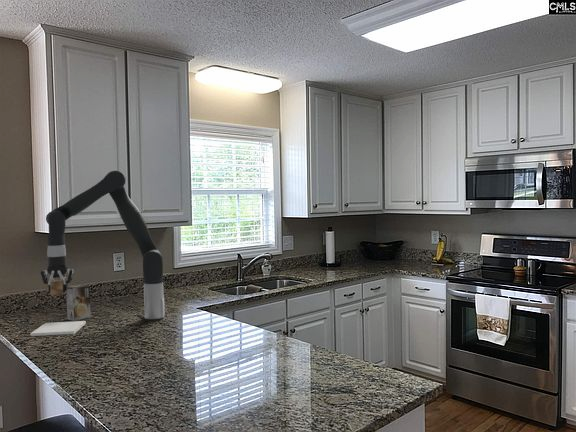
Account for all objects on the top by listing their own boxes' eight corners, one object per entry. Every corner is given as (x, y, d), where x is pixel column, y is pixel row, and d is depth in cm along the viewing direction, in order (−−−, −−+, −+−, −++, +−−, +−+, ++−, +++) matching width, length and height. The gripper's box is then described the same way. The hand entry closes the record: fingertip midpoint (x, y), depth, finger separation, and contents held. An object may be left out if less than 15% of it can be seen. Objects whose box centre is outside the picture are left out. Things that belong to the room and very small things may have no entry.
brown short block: (65, 292, 219) (65, 279, 219) (62, 295, 214) (61, 281, 214) (54, 293, 219) (53, 280, 218) (50, 295, 214) (50, 282, 213)
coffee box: (84, 315, 243) (83, 284, 242) (91, 317, 239) (90, 285, 238) (66, 319, 236) (65, 287, 235) (73, 321, 232) (72, 288, 231)
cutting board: (85, 323, 227) (85, 320, 227) (74, 333, 209) (74, 331, 209) (45, 325, 225) (45, 322, 225) (30, 336, 207) (30, 333, 207)
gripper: (76, 253, 221) (77, 290, 221) (43, 254, 219) (44, 291, 219) (71, 255, 213) (72, 293, 214) (36, 256, 211) (38, 295, 212)
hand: (58, 292), depth 216 cm, fingers closed on brown short block, 5 cm apart
